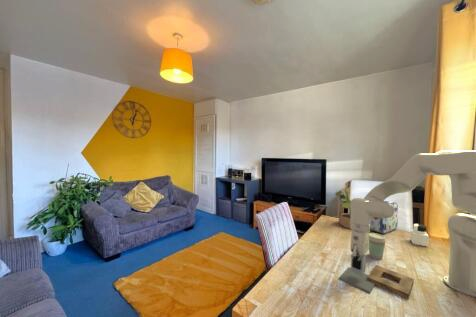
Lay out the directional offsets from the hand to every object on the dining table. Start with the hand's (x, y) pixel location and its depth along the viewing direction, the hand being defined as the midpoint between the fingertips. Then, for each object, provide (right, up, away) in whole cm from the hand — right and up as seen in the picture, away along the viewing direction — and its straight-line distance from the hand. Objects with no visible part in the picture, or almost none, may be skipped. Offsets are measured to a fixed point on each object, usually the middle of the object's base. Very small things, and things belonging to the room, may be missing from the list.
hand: (358, 265), depth 88 cm
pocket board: (+13, -7, -1) cm, 15 cm away
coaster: (0, -7, 0) cm, 7 cm away
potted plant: (+31, -5, +63) cm, 70 cm away
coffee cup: (+22, -6, +19) cm, 30 cm away
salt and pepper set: (+61, -6, +36) cm, 71 cm away
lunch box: (+54, -5, +56) cm, 78 cm away
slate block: (0, -3, 0) cm, 3 cm away
